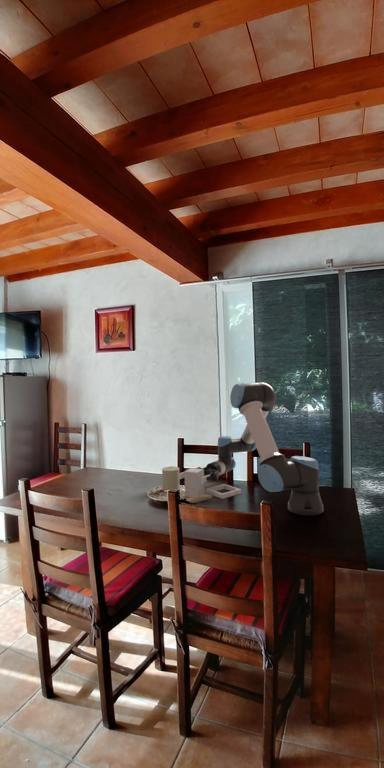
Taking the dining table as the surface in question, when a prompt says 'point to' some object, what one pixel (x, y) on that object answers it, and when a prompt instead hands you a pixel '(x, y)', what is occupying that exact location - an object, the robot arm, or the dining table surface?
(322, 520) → the dining table surface
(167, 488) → the can
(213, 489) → the white flat square frame
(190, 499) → the pad
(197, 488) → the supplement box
